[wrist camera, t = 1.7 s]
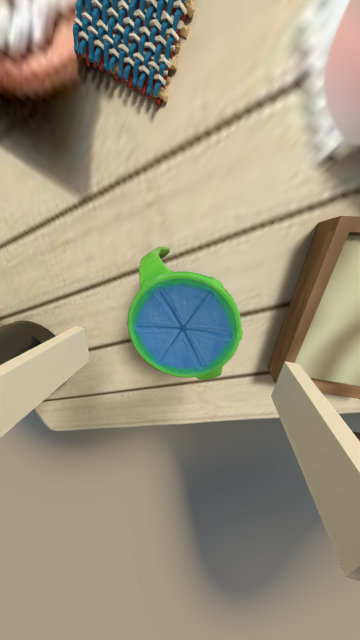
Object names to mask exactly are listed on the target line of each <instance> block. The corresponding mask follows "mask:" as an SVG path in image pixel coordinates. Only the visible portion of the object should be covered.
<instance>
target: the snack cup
mask: <svg viewBox="0 0 360 640" xmlns="http://www.w3.org/2000/svg"><path fill="white" fill-rule="evenodd" d="M169 252H170V250H169V248H167V247H159V248H157V249H155V250H153V251H152V252H150V253H149V254H147V255H145V256H144V257H143V258H142V260H141V263H140V268H139V276H140V291H139V292H138V294H137V295H136V296H135V298H134V300H133V302H132V304H131V306H130V309H129V314H128V323H127V324H128V329H129V334H130V338H131V340H132V343H133V345H134V347H135V348H136V350H137V351H138V353H139V354H140V355H141V356H142V358H143V359H144V360H145V361H147V362H148V363H149V364H150V365H152V366H153V367H154V368H156V369H158V370H160V371H162V372H164V373H167V374H169V375H173V376H178V377H196V378H198V379H201V380H207V379H211V378H215V377H217V376H220V375H221V372H222V367H223V366H224V365H225V364H226V363H227V362H228V361H229V360H230V359H231V358H232V356H233V355H234V354H235V352H236V350H237V348H238V345H239V341H240V340H241V338H242V333H243V331H242V328H241V319H240V313H239V311H238V308H237V306H236V304H235V302H234V300H233V298H232V297H231V295H230V294H229V293H228V292H227V291H226V290H225V289H224V288H223V285H222V283H221V282H219V281H218V280H216V279H215V278H213V277H207V276H204V275H201V274H197V273H192V272H172V271H170V270H169V269H167V267H166V266H165V265H164V263H163V262H162V260H161V259H162V258H163V257H165V256H166V255H167V254H168V253H169Z"/></svg>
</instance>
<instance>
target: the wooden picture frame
mask: <svg viewBox="0 0 360 640" xmlns="http://www.w3.org/2000/svg"><path fill="white" fill-rule="evenodd" d="M284 362H291V363H297V364H299V365H300V366H301V367H302V369H303V370H304V371H305V372H306V374H307V375H308V376H309V377H310V379H311V380H312V381H313V383H314V384H315V385H316V386H317V388H318V389H319V390H320V391H321V392H323V393H329V394H335V395H340V396H346V397H351V398H357V399H360V217H351V216H340V217H336V218H333V219H329V220H326V221H323V222H319V223H318V226H317V229H316V232H315V235H314V237H313V240H312V243H311V246H310V249H309V252H308V255H307V257H306V260H305V263H304V266H303V269H302V272H301V275H300V277H299V280H298V283H297V286H296V289H295V292H294V295H293V297H292V300H291V303H290V306H289V309H288V312H287V315H286V318H285V320H284V323H283V326H282V329H281V332H280V335H279V338H278V340H277V343H276V346H275V349H274V352H273V355H272V358H271V360H270V363H269V366H268V369H269V371H270V373H271V375H272V377H273V379H274V381H275V383H277V380H278V377H279V375H280V372H281V370H282V367H283V365H284Z"/></svg>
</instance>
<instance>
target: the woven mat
mask: <svg viewBox="0 0 360 640" xmlns="http://www.w3.org/2000/svg"><path fill="white" fill-rule="evenodd" d="M85 3H86V4H85ZM194 9H195V6H194V4H193V2H192V0H78V1H77V3H76V12H75V13H76V14H77V18H76V19H75V20H74V23H76V24H74V26H73V36H74V51H75V53H76V54H77V57H78V58H79V59H80V60H82V57H84V58H85V59H86V65H87V66H89V67H90V62H92V66H93V67H94V68H95V69H96V68H97V66H98V68H99V70H100V71H102V72H103V69H104V70H106V73H107V75H109V76H110V74H113V75H114V80H115V81H116V82H118V81H119V80H120V82H121V83H123V84H124V81H126V82H128V83H127V86H128V87H129V88H131V87H132V85H133V86H134V89H135V91H137V92H138V90H139V89H140V90H141V94H142V95H143V96H145V93H147V94H148V98H149V99H151V100H152V97H154V98H157V99H156V105H158V106H159V105H160V104H161V102H162V100H163V101H164V102H166V100H167V98H168V93H167V92H166V91H165V84H167V85H169V84H170V81H171V77H169V76H168V72H169V69H171V70H175V69H176V68H177V65H178V61H177V58H176V56H174V57H172V56H173V53H175V54H178V53H179V50H180V45H179V43H178V40H179V35H180V36H182V37H184V38H185V39H187V36H188V33H189V27H187V26H186V25H184V20H185V19H186V18H187V15H188V16H189V18H190V19H191V17H192V15H193V13H194ZM82 19H83V20H82ZM78 32H79V33H78ZM86 47H87V48H86ZM117 61H118V62H117ZM157 80H158V81H157Z"/></svg>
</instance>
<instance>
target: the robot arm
mask: <svg viewBox="0 0 360 640" xmlns="http://www.w3.org/2000/svg"><path fill="white" fill-rule="evenodd" d="M89 361H90V358H89V351H88V345H87V338H86V332H85V328H82V327H76V326H75V327H73V328H71V329H69V330H67V331H65V332H63V333H61V334H59V335H58V336H55V335H54V334H53V333H51V332H50V331H49V330H47V329H46V328H44V327H42V326H41V325H39V324H36V323H33V322H29V321H16V322H13V323H10V324H7V325H5V326H2V327H0V437H1V436H3V435H4V434H5V433H6V432H7V431H8V430H10V428H12V427H13V426H14V425H15V424H16V423H18V422H19V421H20V420H21V419H22V418H23V417H25V416H26V415H27V414H28V413H29V412H31V411H32V410H33V409H34V408H35V407H36V406H38V405H39V404H40V403H41V402H42V401H43V400H44V399H46V398H47V397H48V396H49V395H50V394H51V393H53V392H54V391H55V390H56V389H57V388H58V387H60V386H61V385H62V384H63V383H64V382H65V381H67V380H68V379H69V378H70V377H71V376H72V375H74V374H75V373H76V372H77V371H78V370H79V369H81V368H82V367H83V366H84V365H85V364H86V363H88V362H89ZM271 397H272V399H273V402H274V404H275V407H276V409H277V412H278V414H279V416H280V419H281V421H282V424H283V426H284V429H285V431H286V433H287V436H288V438H289V441H290V443H291V445H292V448H293V450H294V453H295V455H296V458H297V460H298V463H299V465H300V467H301V470H302V472H303V475H304V477H305V479H306V482H307V484H308V487H309V489H310V492H311V494H312V497H313V499H314V501H315V504H316V506H317V509H318V511H319V513H320V516H321V518H322V521H323V523H324V526H325V528H326V531H327V533H328V535H329V538H330V540H331V543H332V545H333V547H334V550H335V552H336V555H337V557H338V560H339V562H340V565H341V567H342V569H343V572H344V574H345V576H346V577H348V578H351V579H355V580H358V581H360V433H357V432H353V431H351V430H350V428H349V427H348V426H347V424H346V423H345V422H344V421H343V420H342V418H341V417H340V416H339V414H338V413H337V412H336V411H335V409H334V408H333V407H332V405H331V404H330V403H329V402H328V400H327V399H326V398H325V397H324V395H323V394H322V393H321V391H320V390H319V389H318V388H317V386H316V385H315V384H314V383H313V381H312V380H311V379H310V377H309V376H308V375H307V374H306V372H305V371H304V370H303V369H302V367H301V366H300V365H299V364H297V363H291V362H284V365H283V367H282V370H281V372H280V375H279V377H278V380H277V383H276V385H275V388H274V390H273V393H272V395H271Z"/></svg>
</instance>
